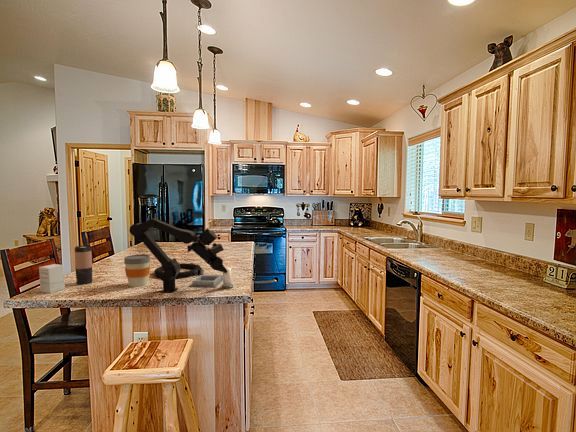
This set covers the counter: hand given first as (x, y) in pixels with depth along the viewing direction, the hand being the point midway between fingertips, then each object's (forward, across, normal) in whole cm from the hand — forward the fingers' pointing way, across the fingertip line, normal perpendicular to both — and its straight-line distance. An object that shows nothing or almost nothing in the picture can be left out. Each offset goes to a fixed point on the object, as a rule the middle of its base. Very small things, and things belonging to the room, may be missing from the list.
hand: (224, 270), depth 162 cm
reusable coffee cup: (-22, +26, +35) cm, 49 cm away
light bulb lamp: (+7, 0, +6) cm, 9 cm away
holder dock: (+3, +15, +10) cm, 19 cm away
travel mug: (-41, +41, +53) cm, 78 cm away
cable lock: (-5, +41, +19) cm, 45 cm away
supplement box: (-50, +32, +62) cm, 86 cm away
